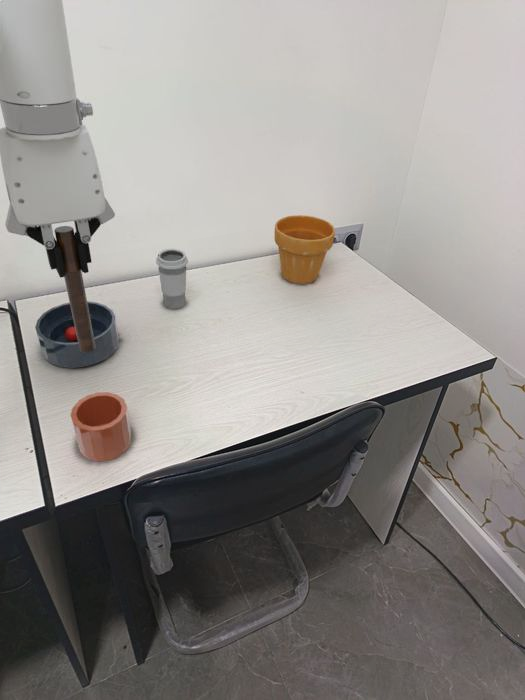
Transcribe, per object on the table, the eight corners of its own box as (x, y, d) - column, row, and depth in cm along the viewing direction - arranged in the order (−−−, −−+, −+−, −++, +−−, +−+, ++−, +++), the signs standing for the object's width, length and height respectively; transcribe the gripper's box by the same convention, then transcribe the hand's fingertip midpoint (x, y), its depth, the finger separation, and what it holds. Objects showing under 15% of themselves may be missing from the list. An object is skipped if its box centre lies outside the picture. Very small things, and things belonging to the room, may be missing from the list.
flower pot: (266, 262, 128) (270, 215, 120) (319, 261, 131) (325, 214, 123) (277, 291, 118) (281, 241, 110) (334, 289, 120) (342, 239, 112)
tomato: (61, 341, 95) (66, 328, 94) (64, 333, 98) (69, 321, 97) (76, 347, 96) (82, 334, 95) (79, 339, 99) (84, 327, 98)
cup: (159, 295, 113) (155, 247, 106) (188, 294, 114) (186, 247, 107) (159, 312, 108) (155, 263, 100) (190, 311, 109) (188, 262, 101)
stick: (82, 354, 70) (57, 234, 59) (77, 346, 71) (52, 227, 60) (97, 350, 71) (75, 230, 60) (92, 342, 72) (70, 224, 62)
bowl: (49, 378, 89) (42, 352, 86) (36, 335, 99) (30, 310, 95) (127, 358, 95) (124, 333, 91) (108, 319, 105) (104, 295, 101)
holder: (85, 468, 74) (77, 437, 70) (74, 432, 80) (66, 401, 75) (137, 450, 78) (133, 419, 73) (123, 417, 83) (118, 386, 79)
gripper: (107, 104, 58) (124, 247, 70) (-46, 112, 51) (0, 268, 63) (127, 120, 53) (141, 271, 65) (-40, 131, 46) (9, 297, 58)
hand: (71, 269), depth 64 cm, fingers closed on stick, 2 cm apart
